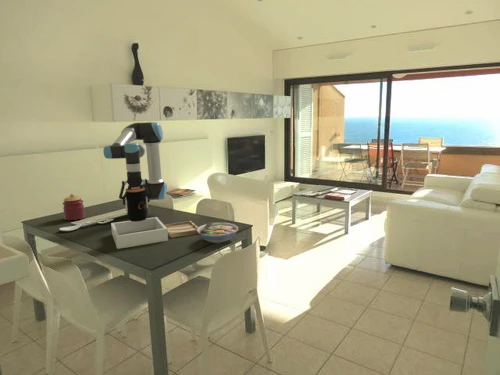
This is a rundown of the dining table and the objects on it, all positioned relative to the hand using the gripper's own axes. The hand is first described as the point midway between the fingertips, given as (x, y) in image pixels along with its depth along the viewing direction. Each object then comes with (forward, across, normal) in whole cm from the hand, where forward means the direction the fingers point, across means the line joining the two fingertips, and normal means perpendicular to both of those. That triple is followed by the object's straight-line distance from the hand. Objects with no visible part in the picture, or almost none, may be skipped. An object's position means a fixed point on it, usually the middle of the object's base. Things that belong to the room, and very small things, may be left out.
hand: (137, 209), depth 208 cm
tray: (+17, +25, 0) cm, 30 cm away
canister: (+18, -33, +62) cm, 73 cm away
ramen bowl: (+17, +38, -28) cm, 50 cm away
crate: (+17, 0, 0) cm, 17 cm away
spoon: (+18, -27, +38) cm, 49 cm away
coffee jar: (+6, 0, 0) cm, 6 cm away
